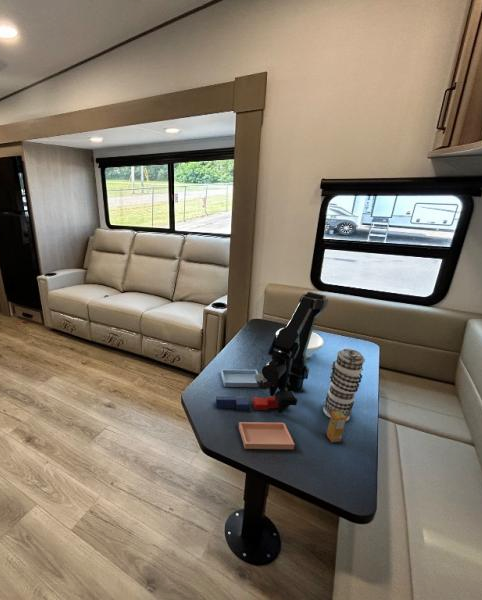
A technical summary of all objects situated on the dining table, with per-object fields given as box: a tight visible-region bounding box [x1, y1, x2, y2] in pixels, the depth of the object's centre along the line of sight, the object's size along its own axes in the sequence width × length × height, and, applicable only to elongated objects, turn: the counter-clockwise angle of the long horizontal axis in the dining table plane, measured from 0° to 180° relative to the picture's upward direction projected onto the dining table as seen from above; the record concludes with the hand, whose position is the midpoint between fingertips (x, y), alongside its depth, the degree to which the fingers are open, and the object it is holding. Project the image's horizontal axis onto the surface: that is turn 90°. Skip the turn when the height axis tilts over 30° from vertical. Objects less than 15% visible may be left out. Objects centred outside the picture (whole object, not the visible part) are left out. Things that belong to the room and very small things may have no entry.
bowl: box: [275, 327, 325, 359], centre depth 151 cm, size 21×21×8 cm
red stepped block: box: [252, 396, 278, 411], centre depth 115 cm, size 11×4×4 cm, turn 89°
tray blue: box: [220, 368, 259, 388], centre depth 131 cm, size 15×9×2 cm, turn 89°
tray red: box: [238, 421, 295, 450], centre depth 102 cm, size 15×9×2 cm, turn 89°
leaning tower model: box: [322, 348, 366, 422], centre depth 108 cm, size 9×9×25 cm
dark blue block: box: [215, 395, 249, 411], centre depth 116 cm, size 11×4×4 cm, turn 89°
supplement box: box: [326, 411, 347, 443], centre depth 100 cm, size 3×3×10 cm
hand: (275, 404), depth 116 cm, fingers open, 9 cm apart
